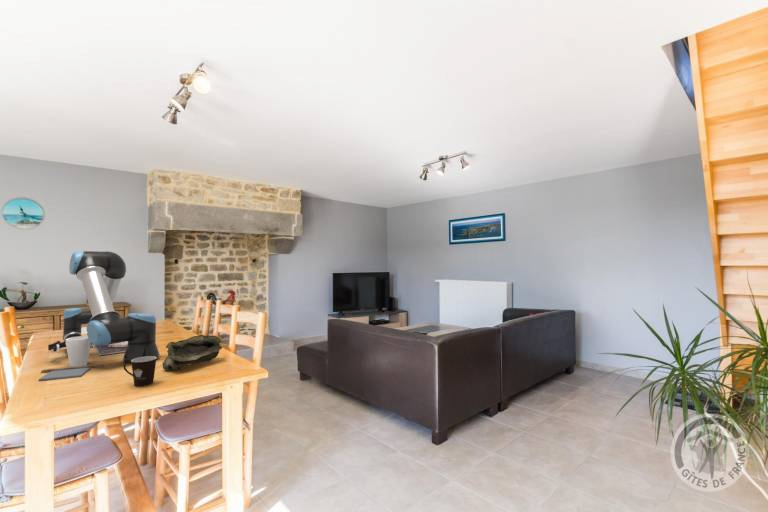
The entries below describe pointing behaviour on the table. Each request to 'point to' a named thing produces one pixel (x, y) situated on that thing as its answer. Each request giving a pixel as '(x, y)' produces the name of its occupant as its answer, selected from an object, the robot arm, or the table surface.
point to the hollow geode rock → (191, 351)
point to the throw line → (72, 368)
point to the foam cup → (78, 350)
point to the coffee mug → (142, 370)
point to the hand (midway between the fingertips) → (76, 347)
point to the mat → (65, 374)
